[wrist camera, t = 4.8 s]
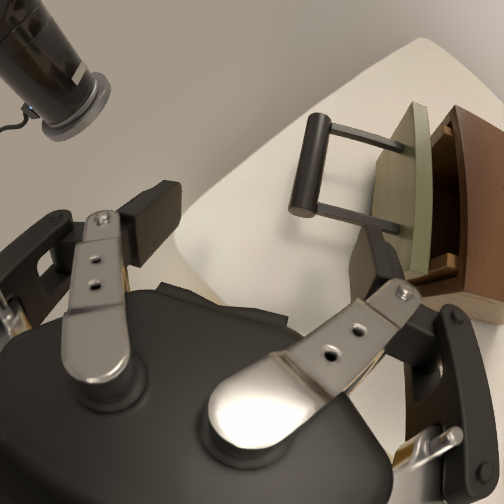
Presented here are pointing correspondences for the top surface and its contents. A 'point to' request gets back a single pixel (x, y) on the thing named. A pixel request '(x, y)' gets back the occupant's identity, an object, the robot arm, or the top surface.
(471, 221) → the cabinet
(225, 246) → the top surface
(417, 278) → the drawer
